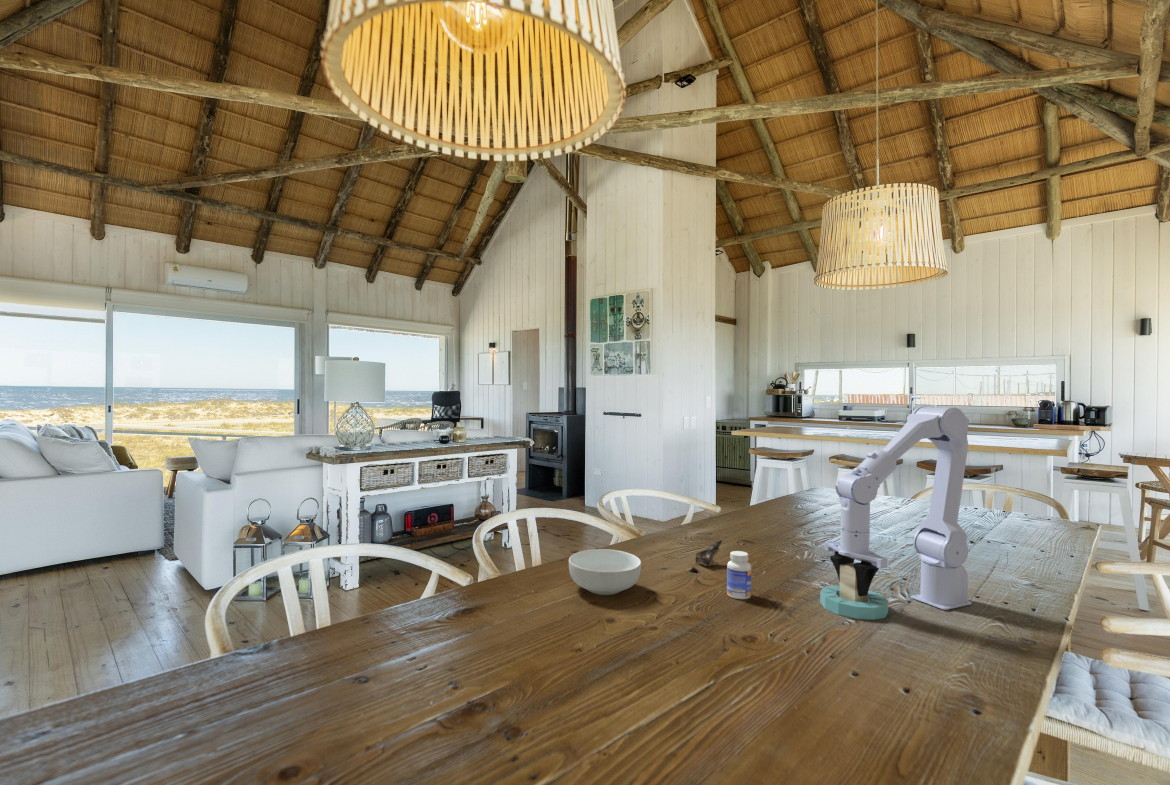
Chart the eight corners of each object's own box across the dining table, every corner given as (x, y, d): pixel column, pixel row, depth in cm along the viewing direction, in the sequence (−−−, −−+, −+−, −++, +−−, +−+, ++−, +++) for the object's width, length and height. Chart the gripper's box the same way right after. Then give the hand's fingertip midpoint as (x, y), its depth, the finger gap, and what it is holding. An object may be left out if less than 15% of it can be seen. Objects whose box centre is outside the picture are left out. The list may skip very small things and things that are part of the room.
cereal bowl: (556, 595, 126) (557, 564, 126) (583, 573, 142) (584, 545, 142) (628, 607, 120) (628, 574, 120) (648, 583, 136) (649, 554, 136)
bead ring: (849, 593, 131) (850, 582, 131) (901, 614, 119) (901, 602, 119) (808, 601, 126) (808, 589, 126) (857, 623, 114) (857, 611, 114)
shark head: (715, 564, 155) (715, 539, 156) (729, 567, 149) (729, 541, 150) (690, 564, 152) (690, 539, 153) (704, 567, 146) (704, 541, 147)
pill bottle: (752, 601, 125) (752, 557, 125) (727, 598, 126) (728, 555, 126) (749, 592, 130) (750, 550, 130) (726, 590, 132) (726, 549, 132)
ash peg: (852, 598, 125) (853, 562, 125) (867, 604, 121) (868, 568, 121) (839, 601, 123) (840, 564, 123) (854, 607, 120) (855, 570, 120)
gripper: (815, 523, 127) (814, 583, 127) (871, 539, 114) (869, 606, 114) (837, 521, 130) (836, 579, 130) (894, 536, 117) (893, 601, 117)
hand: (853, 591), depth 122 cm, fingers closed on ash peg, 4 cm apart
